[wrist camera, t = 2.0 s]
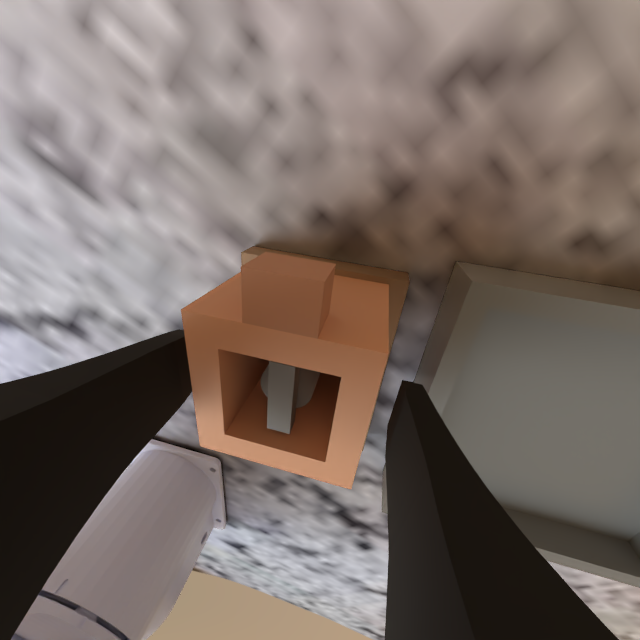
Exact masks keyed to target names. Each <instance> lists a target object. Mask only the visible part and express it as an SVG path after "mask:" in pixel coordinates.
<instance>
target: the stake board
mask: <svg viewBox="0 0 640 640" xmlns="http://www.w3.org/2000/svg"><path fill="white" fill-rule="evenodd" d="M264 252H271V253H276V254H282V255H288V256H294V257H300V258H305V259H311V260H317V261H323V262H328V263H334V264H336V267H335V274H334V275H338V276H344V277H350V278H355V279H361V280H366V281H372V282H378V283H383V284H389V355H390V351H391V348H392V344H393V340H394V337H395V333H396V330H397V326H398V322H399V319H400V315H401V312H402V308H403V305H404V301H405V297H406V294H407V290H408V287H409V283H410V280H409V275H408V273H406V272H400V271H395V270H389V269H383V268H377V267H371V266H365V265H360V264H354V263H348V262H342V261H336V260H330V259H325V258H319V257H313V256H307V255H301V254H295V253H290V252H284V251H278V250H272V249H266V248H260V247H255V246H253V247H251V248H249V249H247V250H245V251H243V252H241V262H242V265H244V264H246V263H248V262H249V261H251V260H253V259H254V258H256V257H258V256H259V255H261V254H263V253H264ZM389 355H388V358H389ZM388 358H387V362H388ZM387 362H386V365H387ZM386 365H385V369H386ZM385 369H384V373H385ZM384 373H383V376H384ZM319 375H320V372H317V371H313V370H308V369H304V368H300V367H295V366H291V365H287V364H282V363H278V362H274V361H269V365H268V366H267V368H266V369H265V371H264V372H263V374H262V376H261V381H260V382H261V388H262V390H263V392H264V394H265V395H266V396H267V397H268V407H267V428H268V429H272V430H276V431H280V432H283V433H287V434H290V432H291V429H292V427H293V424H294V421H295V414H296V408H300V407H303V406H305V405H306V404H307V403H308V402H309V401H310V400H311V398H312V395H313V392H314V389H315V386H316V384H317V381H318V378H319ZM383 376H382V380H383ZM382 380H381V383H382ZM381 383H380V387H381ZM380 387H379V391H380ZM379 391H378V394H379ZM378 394H377V398H378ZM377 398H376V401H377ZM375 405H376V402H375ZM375 405H374V408H375ZM373 412H374V409H373ZM373 412H372V416H373ZM372 416H371V419H372ZM370 423H371V420H370ZM370 423H369V426H370ZM368 430H369V427H368ZM368 430H367V434H368ZM367 434H366V437H367ZM365 441H366V438H365ZM365 441H364V444H365ZM363 448H364V445H363ZM363 448H362V451H363Z"/></svg>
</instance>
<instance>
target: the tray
mask: <svg viewBox="0 0 640 640" xmlns="http://www.w3.org/2000/svg"><path fill="white" fill-rule="evenodd" d="M414 383H417V384H422V385H423V387H424V388H425V390H426V392H427V393H428V395H429V397H430V399H431V401H432V402H433V404H434V406H435V408H436V409H437V411H438V413H439V415H440V416H441V418H442V420H443V421H444V423H445V425H446V426H447V428H448V430H449V431H450V433H451V434H452V436H453V438H454V439H455V441H456V442H457V444H458V446H459V447H460V449H461V450H462V452H463V453H464V455H465V456H466V458H467V459H468V461H469V462H470V464H471V465H472V467H473V468H474V470H475V471H476V472H477V474H478V475H479V477H480V478H481V480H482V481H483V482H484V484H485V485H486V487H487V488H488V489H489V491H490V492H491V493H492V495H493V496H494V497H495V499H496V500H497V501H498V502H499V504H500V505H501V506H502V507H503V509H504V510H505V511H506V512H507V514H508V515H509V516H510V518H511V519H512V520H513V521H514V523H515V524H516V525H517V526H518V528H519V529H520V530H521V531H522V533H523V534H524V535H525V536H526V537H527V539H528V540H529V541H530V542H531V543H532V544H533V546H534V547H535V548H536V549H537V550H538V552H539V553H540V554H541V555H542V556H543V557H544V558H545V560H547V561H550V562H554V563H557V564H561V565H564V566H567V567H571V568H574V569H578V570H581V571H584V572H588V573H591V574H595V575H598V576H601V577H605V578H608V579H612V580H615V581H618V582H622V583H625V584H629V585H632V586H635V587H639V588H640V291H637V290H631V289H625V288H619V287H612V286H606V285H600V284H594V283H588V282H582V281H575V280H569V279H563V278H557V277H551V276H544V275H538V274H532V273H526V272H520V271H514V270H507V269H501V268H495V267H489V266H483V265H477V264H470V263H464V262H458V261H456V263H455V266H454V268H453V271H452V274H451V277H450V280H449V283H448V286H447V288H446V291H445V294H444V297H443V300H442V303H441V306H440V309H439V311H438V314H437V317H436V320H435V323H434V326H433V329H432V331H431V334H430V337H429V340H428V343H427V346H426V349H425V351H424V354H423V357H422V360H421V363H420V366H419V369H418V371H417V374H416V377H415V380H414ZM382 512H384V513H387V514H388V509H387V486H386V463H385V466H384V469H383V484H382Z"/></svg>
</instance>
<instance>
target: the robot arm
mask: <svg viewBox="0 0 640 640" xmlns="http://www.w3.org/2000/svg"><path fill="white" fill-rule="evenodd" d="M191 392H192V385H191V377H190V370H189V363H188V356H187V349H186V342H185V335H184V330H175V331H171V332H168V333H165V334H162V335H159V336H156V337H153V338H150V339H147V340H144V341H141V342H138V343H135V344H133V345H130V346H127V347H124V348H121V349H118V350H115V351H112V352H110V353H107V354H104V355H100V356H97V357H94V358H91V359H88V360H85V361H82V362H78V363H75V364H72V365H69V366H66V367H63V368H59V369H56V370H52V371H49V372H45V373H42V374H38V375H34V376H30V377H26V378H22V379H18V380H14V381H10V382H6V383H2V384H0V640H146V639H147V638H148V637H150V636H151V635H152V634H153V633H154V632H155V631H156V630H157V629H158V628H159V627H160V626H161V624H162V623H163V622H164V621H165V619H166V618H167V617H168V615H169V614H170V612H171V610H172V608H173V607H174V605H175V603H176V601H177V599H178V597H179V595H180V593H181V591H182V589H183V587H184V585H185V583H186V581H187V579H188V577H189V575H190V573H191V571H192V569H193V567H194V565H195V563H196V561H197V559H198V557H199V555H200V553H201V551H202V549H203V547H204V545H205V543H206V541H207V539H208V537H209V535H210V533H211V531H212V529H213V527H214V528H217V529H220V530H223V529H225V527H226V513H225V502H224V491H223V480H222V469H221V462H220V460H219V459H217V458H215V457H212V456H209V455H205V454H202V453H198V452H195V451H192V450H188V449H185V448H181V447H178V446H174V445H171V444H167V443H164V442H161V441H157V440H154V439H152V438H153V437H154V436H155V435H156V434H157V433H158V431H159V430H160V429H161V428H162V427H163V426H164V425H165V424H166V422H167V421H168V420H169V419H170V418H171V417H172V416H173V415H174V413H175V412H176V411H177V410H178V409H179V408H180V407H181V405H182V404H183V403H184V402H185V400H186V399H187V397H188V396H189V395H190V393H191ZM385 459H386V486H387V509H388V533H389V561H388V585H387V607H386V626H385V640H619V639H618V638H617V637H616V636H615V635H614V634H613V633H612V632H611V631H610V630H609V629H608V628H607V627H606V626H605V625H604V624H603V623H602V622H601V621H600V619H599V618H598V617H597V616H596V615H595V614H594V613H593V612H592V611H591V610H590V609H589V608H588V606H587V605H586V604H585V603H584V602H583V601H582V600H581V599H580V598H579V597H578V596H577V595H576V593H575V592H574V591H573V590H572V589H571V588H570V587H569V586H568V585H567V583H566V582H565V581H564V580H563V579H562V578H561V577H560V575H559V574H558V573H557V572H556V571H555V570H554V569H553V567H552V566H551V565H550V564H549V563H548V562H547V561H546V560H545V558H544V557H543V556H542V555H541V554H540V553H539V552H538V550H537V549H536V548H535V547H534V546H533V544H532V543H531V542H530V541H529V540H528V539H527V537H526V536H525V535H524V534H523V533H522V531H521V530H520V529H519V528H518V526H517V525H516V524H515V523H514V521H513V520H512V519H511V518H510V516H509V515H508V514H507V512H506V511H505V510H504V509H503V507H502V506H501V505H500V504H499V502H498V501H497V500H496V499H495V497H494V496H493V495H492V493H491V492H490V491H489V489H488V488H487V487H486V485H485V484H484V482H483V481H482V480H481V478H480V477H479V475H478V474H477V472H476V471H475V470H474V468H473V467H472V465H471V464H470V462H469V461H468V459H467V458H466V456H465V455H464V453H463V452H462V450H461V449H460V447H459V446H458V444H457V442H456V441H455V439H454V438H453V436H452V434H451V433H450V431H449V430H448V428H447V426H446V425H445V423H444V421H443V420H442V418H441V416H440V415H439V413H438V411H437V409H436V408H435V406H434V404H433V402H432V401H431V399H430V397H429V395H428V393H427V392H426V390H425V388H424V387H423V385H422V384H417V383H413V382H408V381H404V380H402V383H401V386H400V389H399V392H398V395H397V398H396V401H395V404H394V407H393V411H392V414H391V417H390V420H389V423H388V427H387V440H386V455H385ZM130 463H131V464H130ZM129 464H130V466H129V467H128V465H129ZM127 467H128V468H127ZM126 468H127V469H126ZM125 469H126V470H125ZM124 470H125V471H124ZM120 475H121V476H120Z"/></svg>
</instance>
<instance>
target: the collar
mask: <svg viewBox="0 0 640 640" xmlns="http://www.w3.org/2000/svg"><path fill="white" fill-rule="evenodd" d="M335 267H336V264H334V263H328V262H323V261H317V260H311V259H305V258H300V257H294V256H288V255H282V254H276V253H271V252H264V253H263V254H261V255H259V256H258V257H256V258H254V259H253V260H251V261H249V262H248V263H246V264H244V265H242V266H241V272H240V273H238V274H237V275H235V276H234V277H232V278H230V279H229V280H227V281H226V282H224V283H222V284H221V285H219V286H218V287H216V288H214V289H213V290H211V291H210V292H208V293H207V294H205V295H203V296H202V297H200V298H199V299H197V300H195V301H194V302H192V303H191V304H189V305H188V306H186V307H184V308H183V309H181V313H182V320H183V327H184V335H185V342H186V349H187V356H188V363H189V370H190V377H191V385H192V392H193V399H194V406H195V413H196V420H197V427H198V435H199V442H200V446H201V447H204V448H208V449H211V450H215V451H218V452H222V453H225V454H229V455H232V456H236V457H239V458H243V459H246V460H250V461H253V462H257V463H260V464H264V465H267V466H271V467H274V468H278V469H281V470H285V471H288V472H292V473H295V474H298V475H302V476H305V477H309V478H312V479H316V480H319V481H323V482H326V483H330V484H333V485H337V486H340V487H344V488H347V489H351V488H352V485H353V481H354V477H355V474H356V470H357V467H358V463H359V459H360V456H361V452H362V448H363V445H364V441H365V438H366V434H367V430H368V427H369V423H370V420H371V416H372V412H373V409H374V405H375V402H376V398H377V394H378V391H379V387H380V383H381V380H382V376H383V373H384V369H385V365H386V362H387V358H388V355H389V284H383V283H378V282H372V281H366V280H361V279H355V278H350V277H344V276H338V275H334V274H335ZM269 361H274V362H278V363H282V364H287V365H291V366H295V367H300V368H304V369H308V370H313V371H317V372H320V375H319V378H318V381H317V384H316V386H315V389H314V392H313V395H312V398H311V400H310V401H309V402H308V403H307V404H306V405H305V406H303V407H300V408H296V414H295V421H294V424H293V427H292V429H291V432H290V434H287V433H283V432H280V431H276V430H272V429H268V428H267V407H268V397H267V396H266V395H265V394H264V392H263V390H262V388H261V382H260V381H261V376H262V374H263V372H264V371H265V369H266V368H267V366H268V365H269Z"/></svg>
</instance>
